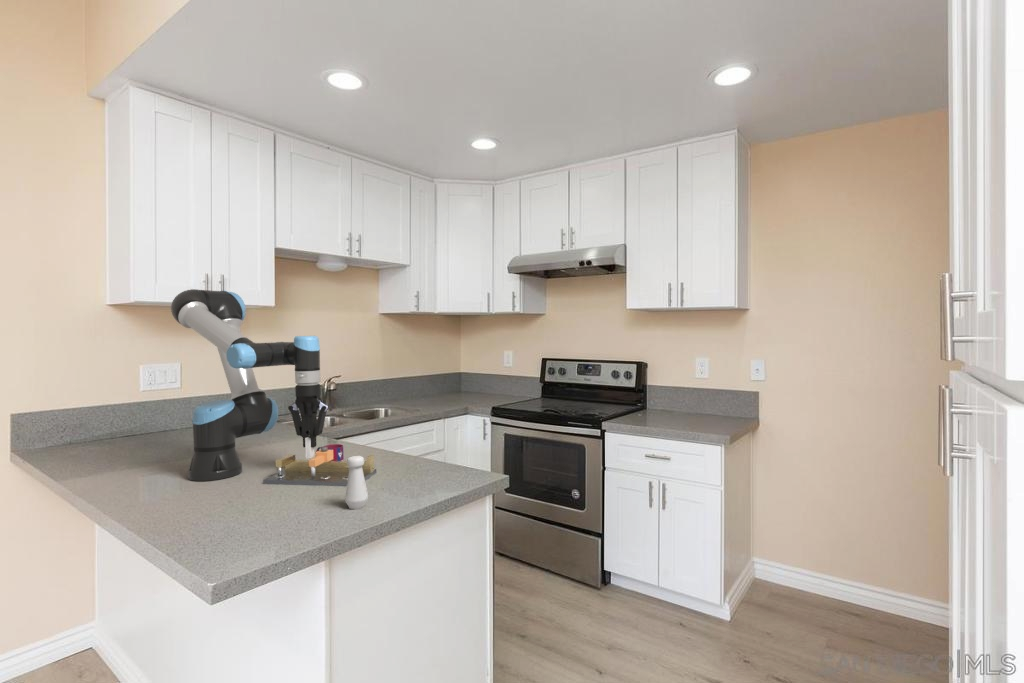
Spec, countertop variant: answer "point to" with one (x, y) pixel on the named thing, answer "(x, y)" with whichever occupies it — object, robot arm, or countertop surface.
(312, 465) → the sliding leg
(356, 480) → the salt shaker
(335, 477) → the plate
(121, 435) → the countertop surface
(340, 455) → the mug
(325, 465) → the brass l-shaped beam
